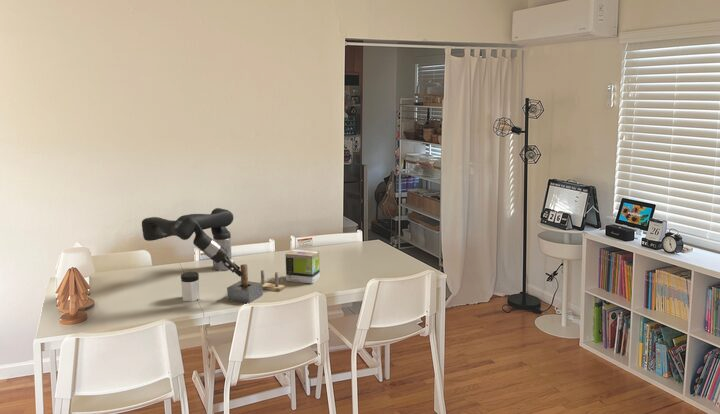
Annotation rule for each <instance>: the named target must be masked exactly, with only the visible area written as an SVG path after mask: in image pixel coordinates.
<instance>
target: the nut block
mask: <svg viewBox="0 0 720 414" xmlns="http://www.w3.org/2000/svg"><path fill="white" fill-rule="evenodd" d="M226 294H227V295H226V296H227V301H231V300H232V301H233V302H237V301H238V302H237V303H243V304H248V303H247V302H251V303H253V302H255V300H257V299H259V298H261V297H262V296H264V289H263V283H260V282H255V281H249V280H248V287H247V288H245V287H241V280H238V281H237V282H236V283H233V284H232V285H229V286H227V287H226Z"/></svg>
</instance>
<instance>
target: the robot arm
mask: <svg viewBox="0 0 720 414" xmlns="http://www.w3.org/2000/svg"><path fill="white" fill-rule="evenodd" d="M233 221H234V214H233V212H232V211H230V210H228V209H225V208H219V207H217V208H214V209H212V211H211V212H210V213H190V214H184V215H181V216H179V217H177V219H176V220H170V219H166V218H162V217H157V216H152V217H146V218H144V219H142V220H141V228H142V229H141V230H142V236H143V239H144V241H147V242H151V241H156V240H157V241H158V240H161V239H164V238H169V237H173V236H175V237H178V238H180V240H183V241H187V240H189V239H190V238H191V237H192V236H193V234H195V235H194V238H193V245H194V246H195V247H196V248H197V249H199V250H200V251H202V253H203V254H205V256H207V257H208V258H209V259H210V260H211V261H212V269H214V270H216V271H222V272H223V271H228V270H229V271H230V272H231V273H232V274H233V273H235V274H236V275H237V276H238V277H240V278H241V276H242V275H243V273H242V272H241V267H240V266H239V265H237V263H236V262H235V261H234V260H233V258H232V257H233V256H232V239H231V238H232V237H231V235H232V234H231V232H230V231H229V230H228V228H227V227H228V226H230V225H232V223H233ZM208 229H210V231H211V234H212V237H210V236H209V234H207V233H206V232H205V231H204V230H208ZM212 238H213V239H212Z"/></svg>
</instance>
